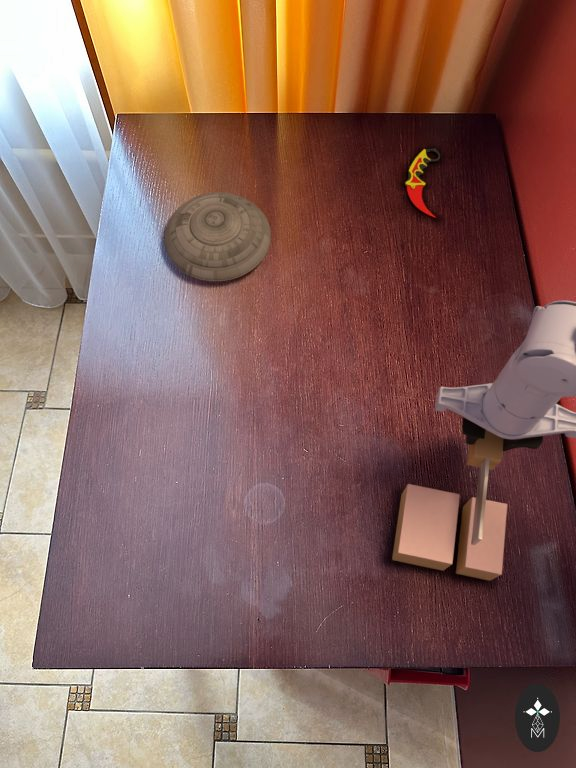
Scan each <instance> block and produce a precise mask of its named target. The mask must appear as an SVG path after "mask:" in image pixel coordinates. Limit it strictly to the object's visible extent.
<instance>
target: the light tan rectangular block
mask: <svg viewBox="0 0 576 768" xmlns="http://www.w3.org/2000/svg"><path fill="white" fill-rule="evenodd" d="M475 502H476V496H475V497H474V496H472V497H471V498H469V500H468V501H467V502H466V503H465V504H464V505H463V506H462V512H461V521H460V531H459V539H458V540H459V541H458V549H457V557H456V558H457V559H456V566H455V567H456V568H455V574H456V575H462V576H466V577H471V578H475V579H480V580H484V581H492V580H494V579H496V578H497V577H500V576H502V575H503V564H504V552H505V551H504V550H505V539H506V528H507V527H506V526H507V515H508V514H507V513H508V503H504V502H500V501H495V500H490V499H486V504H485V514H484V525H483V535H482V540H481V541H479V542H478V543H477V544H475V545H472V544H471V540H472V531H473V521H474V512H475Z"/></svg>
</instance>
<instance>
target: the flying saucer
mask: <svg viewBox="0 0 576 768" xmlns="http://www.w3.org/2000/svg"><path fill="white" fill-rule="evenodd" d="M270 225H271V224H270V223H269V220H268V218H267V216H266V215H265V213H264V212H263V211H262V210H261V209H260V207H259V206H257V205H256V204H255V203H254V202H253V201H251V200H249V199H247V198H245V197H243V196H241V195H238V194H234V193H230V192H224V191H223V192H222V191H215V192H208V193H203V194H200V195H196V196H195V197H192V198H190V199H188V200H186V201H185V202H183V203H182V204H181V205H180V206H178V208H177V209H176V210H174V212H173V213H172V214H171V216H170V217H169V219H168V221H167V223H166V226H165V228H164V234H163V243H164V249H165V252H166V255H167V256H168V258H169V260H170V261H171V263H172V264H173V265H174V266H175V267H176V268H177V269H178V270H180V271H181V272H182V273H184V274H186V275H187V276H190V277H192V278H194V279H197V280H201V281H207V282H225V281H230V280H235V279H238V278H240V277H242V276H244V275H246V274H248V273H250V272H251V271H253V270H254V269H255V268H256V267H257V266H258V265H260V264H261V262H262V261H263V260H264V259H265V257H266V255H267V254H268V251H269V249H270V247H271V242H272V231H271V226H270Z"/></svg>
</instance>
